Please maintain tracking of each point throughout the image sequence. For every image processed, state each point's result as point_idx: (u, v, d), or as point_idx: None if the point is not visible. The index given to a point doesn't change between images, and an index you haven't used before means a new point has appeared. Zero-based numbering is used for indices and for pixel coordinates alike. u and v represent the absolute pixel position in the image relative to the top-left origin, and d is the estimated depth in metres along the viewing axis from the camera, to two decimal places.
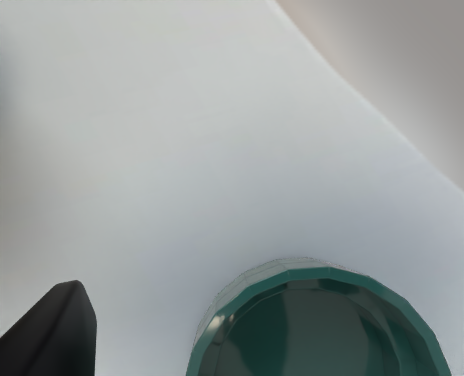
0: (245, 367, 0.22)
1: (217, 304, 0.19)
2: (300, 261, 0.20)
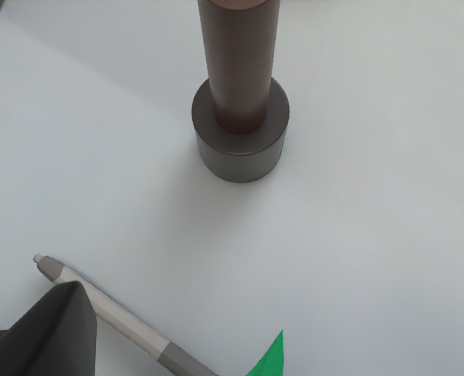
0: None
1: None
2: None
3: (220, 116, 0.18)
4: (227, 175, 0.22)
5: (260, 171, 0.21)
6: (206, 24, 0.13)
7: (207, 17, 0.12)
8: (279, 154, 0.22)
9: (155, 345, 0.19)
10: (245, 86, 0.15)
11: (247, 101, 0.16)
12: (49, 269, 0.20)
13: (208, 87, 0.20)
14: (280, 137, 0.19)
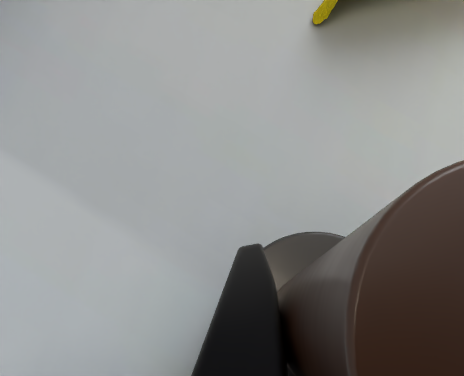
0: None
1: None
2: None
3: None
4: None
5: None
6: None
7: None
8: None
9: None
10: None
11: None
12: None
13: None
14: None
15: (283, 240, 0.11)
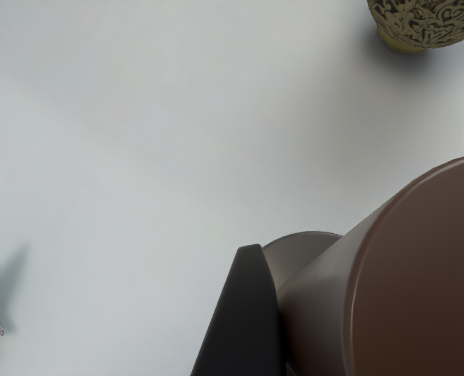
0: None
1: None
2: None
3: None
4: None
5: None
6: None
7: None
8: None
9: None
10: None
11: None
12: None
13: None
14: None
15: (282, 239, 0.11)
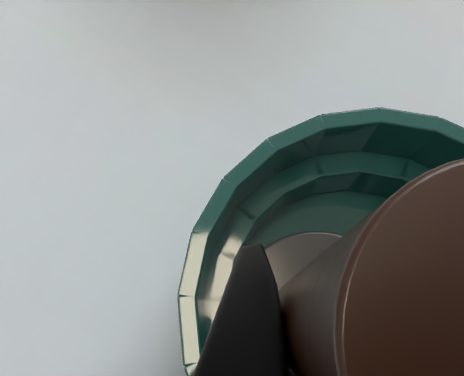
0: None
1: None
2: None
3: None
4: None
5: None
6: None
7: None
8: None
9: None
10: None
11: None
12: None
13: None
14: None
15: (284, 239, 0.11)
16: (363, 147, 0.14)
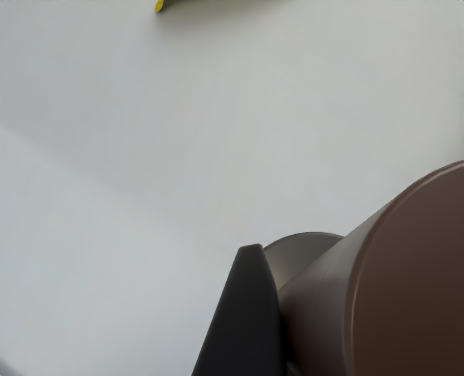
0: None
1: None
2: None
3: None
4: None
5: None
6: None
7: None
8: None
9: None
10: None
11: None
12: None
13: None
14: None
15: (284, 240, 0.11)
16: None
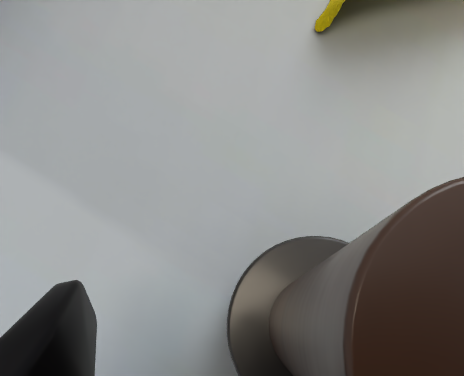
0: None
1: None
2: None
3: None
4: None
5: None
6: None
7: None
8: None
9: None
10: None
11: None
12: None
13: (258, 279, 0.11)
14: None
15: (284, 244, 0.11)
16: None
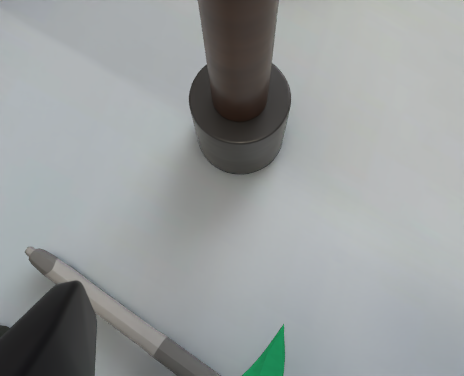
0: None
1: None
2: None
3: (218, 102, 0.17)
4: (226, 166, 0.21)
5: (260, 162, 0.21)
6: None
7: None
8: (280, 144, 0.21)
9: (151, 341, 0.18)
10: (244, 69, 0.14)
11: (247, 86, 0.15)
12: (41, 262, 0.19)
13: (206, 73, 0.19)
14: (281, 125, 0.18)
15: None
16: None
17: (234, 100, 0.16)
